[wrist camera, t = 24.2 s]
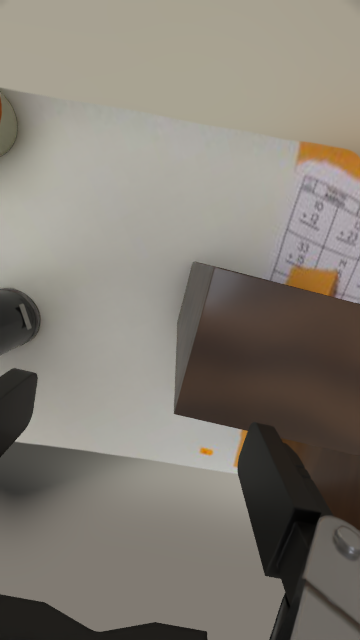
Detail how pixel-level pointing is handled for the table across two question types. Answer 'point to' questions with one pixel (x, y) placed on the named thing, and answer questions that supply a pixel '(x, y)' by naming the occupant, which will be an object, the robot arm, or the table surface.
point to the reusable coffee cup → (7, 125)
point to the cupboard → (269, 358)
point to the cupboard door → (333, 478)
